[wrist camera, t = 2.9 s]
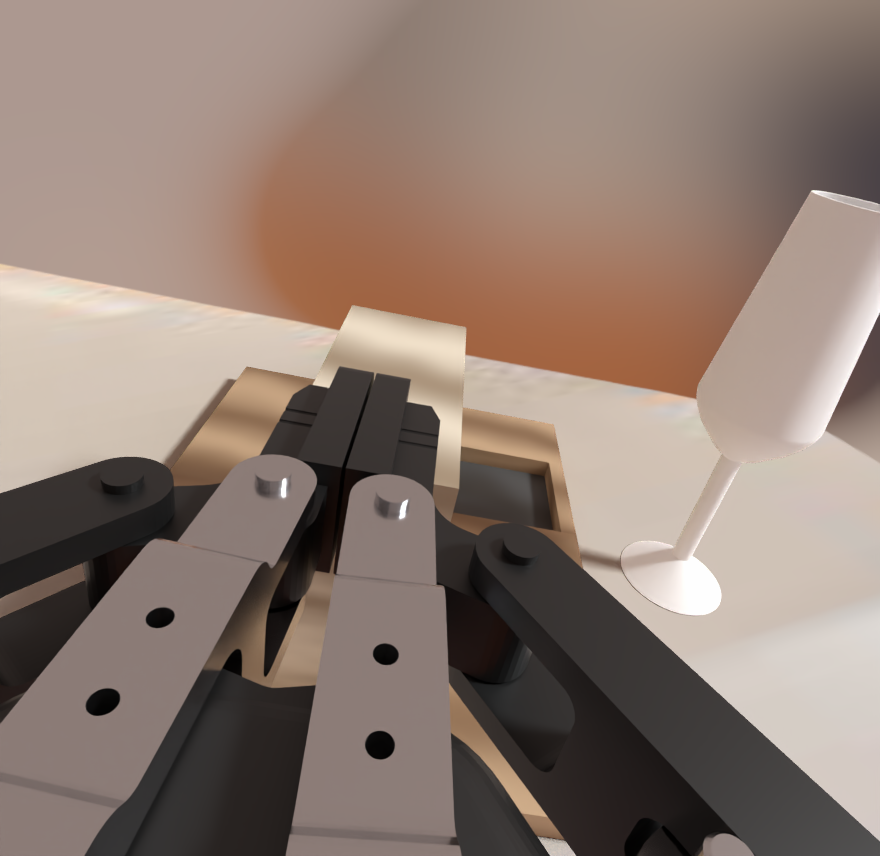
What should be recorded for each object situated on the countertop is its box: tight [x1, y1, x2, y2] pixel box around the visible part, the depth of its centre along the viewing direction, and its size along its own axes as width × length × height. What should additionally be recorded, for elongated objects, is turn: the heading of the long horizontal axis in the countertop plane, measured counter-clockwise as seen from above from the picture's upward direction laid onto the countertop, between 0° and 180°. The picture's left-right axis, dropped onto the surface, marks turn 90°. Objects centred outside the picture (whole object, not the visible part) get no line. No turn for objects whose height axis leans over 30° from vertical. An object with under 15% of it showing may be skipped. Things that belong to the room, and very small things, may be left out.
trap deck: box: [170, 367, 583, 840], centre depth 38 cm, size 32×26×2 cm
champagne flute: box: [621, 190, 880, 615], centre depth 35 cm, size 7×7×24 cm
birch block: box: [271, 305, 466, 688], centre depth 30 cm, size 14×6×13 cm, turn 177°
